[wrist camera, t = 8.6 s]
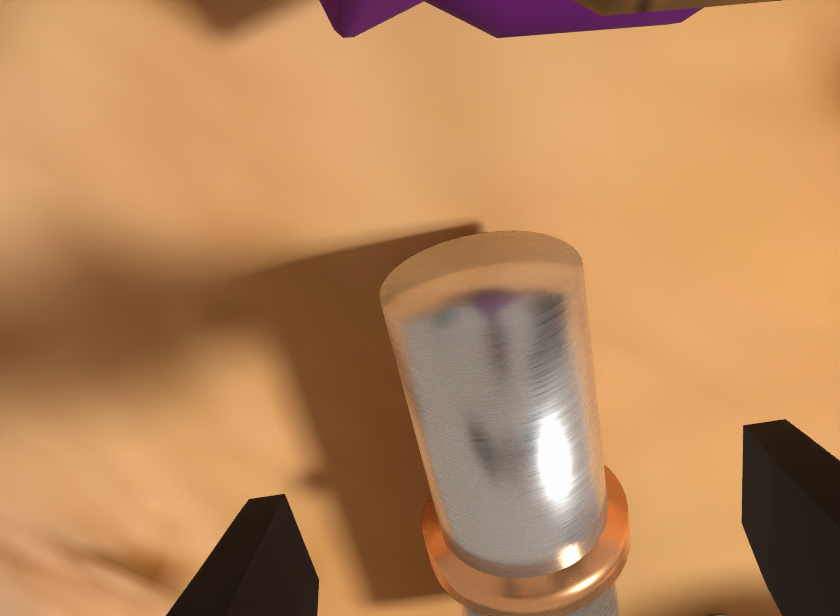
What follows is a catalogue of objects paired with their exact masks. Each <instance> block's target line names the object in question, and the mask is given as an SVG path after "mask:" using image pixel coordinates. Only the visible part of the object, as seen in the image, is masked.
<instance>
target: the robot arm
mask: <svg viewBox="0 0 840 616" xmlns="http://www.w3.org/2000/svg"><path fill="white" fill-rule="evenodd" d="M742 525H743V527H744V530H745V533H746V535H747V538H748V540H749V543H750V546H751V548H752V551H753V553H754V556H755V558H756V561H757V563H758V566H759V568H760V571H761V573H762V575H763V578H764V580H765V583H766V585H767V587H768V589H769V591H770V593H771V595H772V597H773V599H774V601H775V602H776V604H777V606H778V608H779V610H780V612H781V614H782V616H840V460H838V459H837V458H836V457H834V456H833V455H832V454H830V453H829V452H828V451H826V450H825V449H824V448H823V447H821V446H820V445H819V444H817V443H816V442H815V441H813V440H812V439H811V438H810V437H808V436H807V435H806V434H804V433H803V432H802V431H800V430H799V429H798V428H796V427H795V426H794V425H792V424H791V423H790V422H788V421H787V420H786V419H784V420H777V421H770V422H764V423H757V424H750V425H743V476H742ZM318 589H319V579H318V576H317V574H316V571H315V569H314V566H313V564H312V561H311V559H310V556H309V554H308V551H307V549H306V546H305V544H304V541H303V539H302V536H301V533H300V531H299V528H298V526H297V523H296V521H295V518H294V516H293V513H292V511H291V508H290V506H289V503H288V501H287V498H286V496H285V494H280V495H274V496H267V497H260V498H254V499H249V500H248V501H247V503H246V504H245V505H244V507H243V508H242V509H241V511H240V512H239V514H238V515H237V516H236V518H235V519H234V521H233V522H232V523H231V525H230V526H229V528H228V529H227V531H226V532H225V533H224V535H223V536H222V538H221V539H220V541H219V542H218V544H217V545H216V546H215V548H214V549H213V551H212V552H211V554H210V555H209V556H208V558H207V559H206V561H205V562H204V564H203V565H202V566H201V568H200V569H199V571H198V572H197V574H196V575H195V576H194V578H193V579H192V580H191V582H190V583H189V585H188V586H187V587H186V589H185V590H184V591H183V593H182V594H181V596H180V597H179V598H178V600H177V601H176V602H175V604H174V605H173V607H172V608H171V609H170V611H169V612H168V613H167V615H166V616H317V610H318Z"/></svg>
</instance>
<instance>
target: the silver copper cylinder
mask: <svg viewBox="0 0 840 616" xmlns="http://www.w3.org/2000/svg"><path fill="white" fill-rule="evenodd" d="M379 300H380V304H381V307H382V311H383V315H384V319H385V322H386V326H387V330H388V334H389V337H390V341H391V345H392V349H393V353H394V356H395V360H396V364H397V368H398V371H399V375H400V379H401V383H402V386H403V390H404V394H405V398H406V401H407V405H408V409H409V413H410V416H411V420H412V424H413V428H414V432H415V435H416V439H417V443H418V447H419V450H420V454H421V458H422V462H423V465H424V469H425V473H426V477H427V480H428V484H429V488H430V494H429V496H428V498H427V501H426V503H425V506H424V510H423V515H422V532H423V537H424V541H425V544H426V548H427V551H428V555H429V558H430V562H431V565H432V569H433V571H434V573H435V575H436V578H437V579H438V581H439V582H440V584H441V585H442V587H443V588H444V589H445V590H446V591H447V592H448V593H449V595H450V596H452V597H453V598H454V599H455V600H456V601H458V602H459V603H460V605H461V608H462V612H463V616H620V613H619V604H618V594H617V585H616V579H617V578H618V576H619V575H620V574H621V572H622V570H623V568H624V566H625V563H626V561H627V557H628V554H629V548H630V528H629V516H628V505H627V500H626V496H625V493H624V491H623V488H622V486H621V484H620V482H619V481H618V479H617V478H616V476H615V475H614V474H613V473H612V472H611V470H610V469H609V468H608V467H607V466H605V465H604V461H603V452H602V442H601V433H600V423H599V414H598V404H597V395H596V385H595V376H594V366H593V357H592V347H591V338H590V328H589V319H588V309H587V300H586V290H585V281H584V271H583V263H582V259H581V257H580V255H579V253H578V252H577V251H576V250H575V249H574V248H573V247H572V246H571V245H569V244H568V243H566V242H564V241H562V240H560V239H558V238H555V237H552V236H548V235H544V234H540V233H533V232H523V231H498V232H487V233H480V234H474V235H469V236H464V237H460V238H456V239H452V240H449V241H446V242H443V243H440V244H437V245H435V246H432V247H430V248H427V249H425V250H423V251H421V252H419V253H417V254H415V255H413V256H412V257H410V258H408V259H407V260H405V261H404V262H402V263H401V264H400V265H398V266H397V267H396V268H395V269H394V270H393V271H392V272H391V273H390V274H389V275H388V276H387V278H386V279H385V280H384V282H383V284H382V286H381V289H380V293H379Z"/></svg>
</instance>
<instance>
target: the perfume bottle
mask: <svg viewBox="0 0 840 616" xmlns="http://www.w3.org/2000/svg"><path fill="white" fill-rule="evenodd" d="M423 1H425V2H427V3H429V4H431V5H433V6H435V7H437V8H439V9H441V10H443V11H445V12H447V13H449V14H451V15H453V16H455V17H456V18H458V19H460V20H462V21H464V22H466V23H468V24H470V25H472V26H474V27H476V28H478V29H480V30H482V31H484V32H486V33H488V34H490V35H492V36H494V37H496V38H504V37H516V36H529V35H542V34H554V33H567V32H579V31H592V30H604V29H617V28H629V27H642V26H655V25H667V24H673V23H680V22H682V21H684V20H685V19H687V18H689V17H690V16H692V15H693V14H695V13H696V12H698V11H699V10H701V9H702V8H704V7H711V6H723V5H734V4H746V3H757V2H768V1H780V0H320V2H321V4H322V6H323V8H324V10H325V12H326V14H327V16H328V18H329V20H330V22H331V24H332V26H333V28H334V30H335V31H336V32H337V33H338V34H339V35H341V36H342V37H343V38H345V37H355V36H357V35H359V34H361V33H363V32H365V31H366V30H368V29H370V28H372V27H374V26H376V25H378V24H380V23H382V22H384V21H386V20H388V19H390V18H392V17H394V16H396V15H398V14H400V13H402V12H404V11H406V10H408V9H410V8H412V7H414V6H416V5H418V4H419V3H421V2H423Z"/></svg>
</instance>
